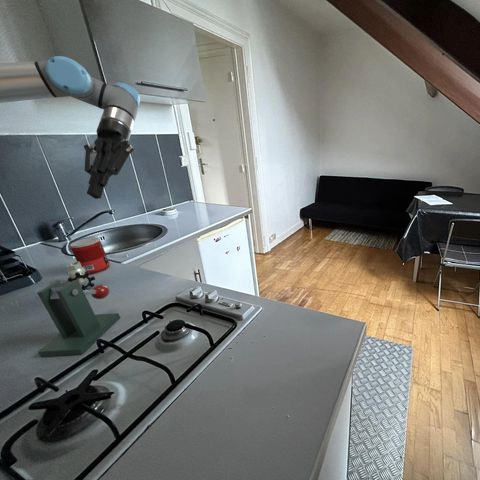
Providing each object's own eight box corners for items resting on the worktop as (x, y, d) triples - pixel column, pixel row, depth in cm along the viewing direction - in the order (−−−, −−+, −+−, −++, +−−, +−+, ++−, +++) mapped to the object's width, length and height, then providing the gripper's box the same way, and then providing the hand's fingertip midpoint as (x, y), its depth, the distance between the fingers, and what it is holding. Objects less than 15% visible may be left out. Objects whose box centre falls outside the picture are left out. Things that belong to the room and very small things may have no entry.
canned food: (114, 266, 95) (102, 239, 91) (87, 277, 89) (74, 247, 85) (105, 262, 99) (94, 235, 95) (79, 271, 93) (65, 243, 89)
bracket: (85, 319, 67) (62, 273, 62) (120, 317, 67) (99, 271, 62) (40, 357, 56) (7, 304, 51) (82, 354, 56) (53, 301, 51)
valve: (67, 283, 86) (71, 296, 78) (58, 265, 83) (62, 277, 75) (92, 275, 90) (99, 287, 82) (85, 258, 87) (90, 268, 80)
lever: (98, 299, 68) (99, 285, 69) (112, 298, 68) (113, 284, 69) (45, 302, 55) (48, 285, 56) (62, 301, 55) (64, 284, 56)
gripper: (145, 136, 81) (128, 201, 72) (103, 138, 81) (81, 204, 72) (128, 116, 74) (107, 186, 65) (83, 119, 74) (55, 189, 65)
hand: (93, 195), depth 69 cm, fingers closed
